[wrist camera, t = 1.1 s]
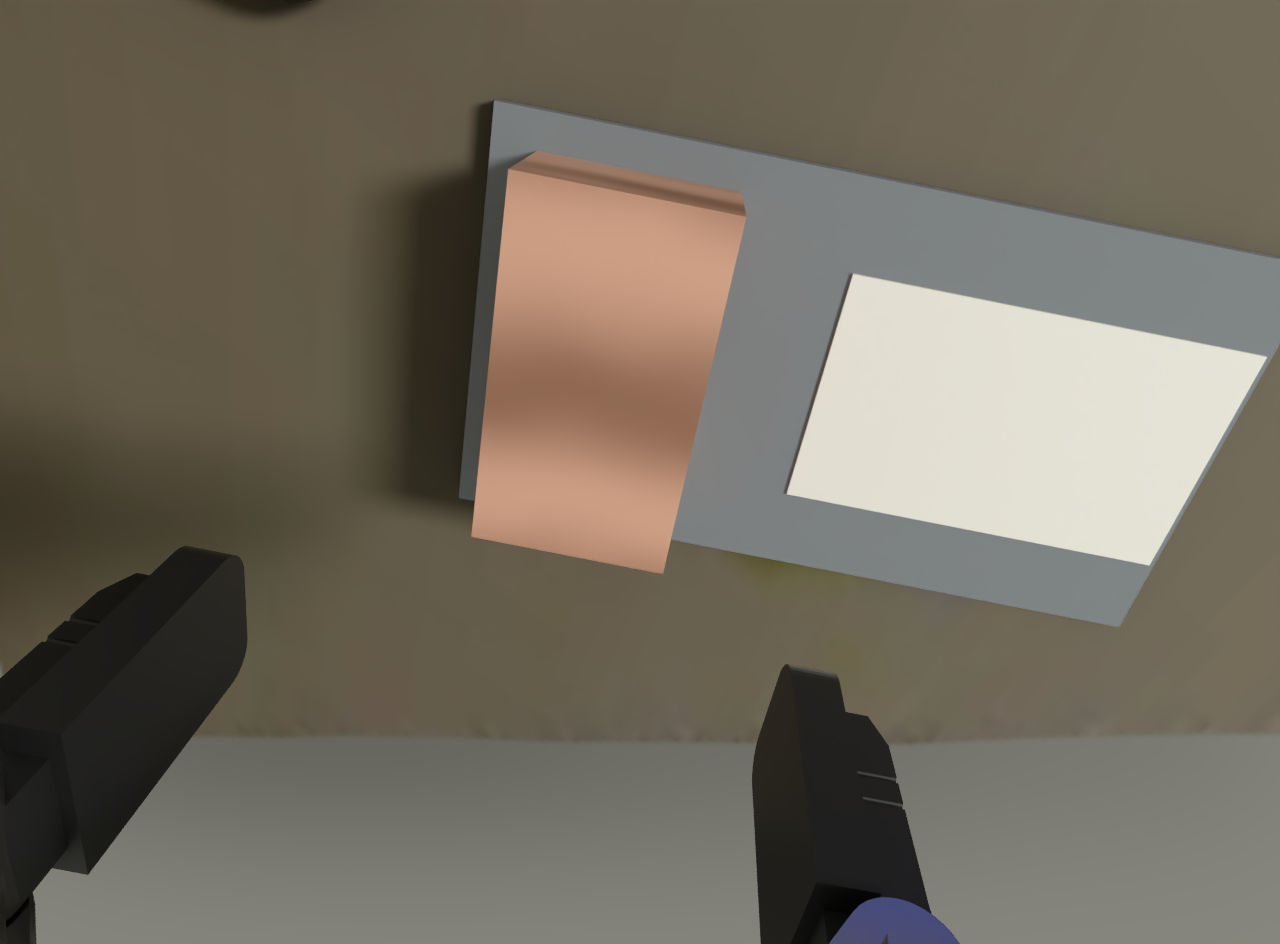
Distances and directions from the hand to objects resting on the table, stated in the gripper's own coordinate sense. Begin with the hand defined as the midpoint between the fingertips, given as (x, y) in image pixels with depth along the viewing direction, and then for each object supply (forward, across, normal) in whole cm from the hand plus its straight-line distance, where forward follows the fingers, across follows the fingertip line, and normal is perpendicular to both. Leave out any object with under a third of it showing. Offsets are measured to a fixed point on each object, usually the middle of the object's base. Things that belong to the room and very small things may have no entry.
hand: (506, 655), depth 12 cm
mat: (+14, -7, 0) cm, 16 cm away
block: (+14, 0, 0) cm, 14 cm away
